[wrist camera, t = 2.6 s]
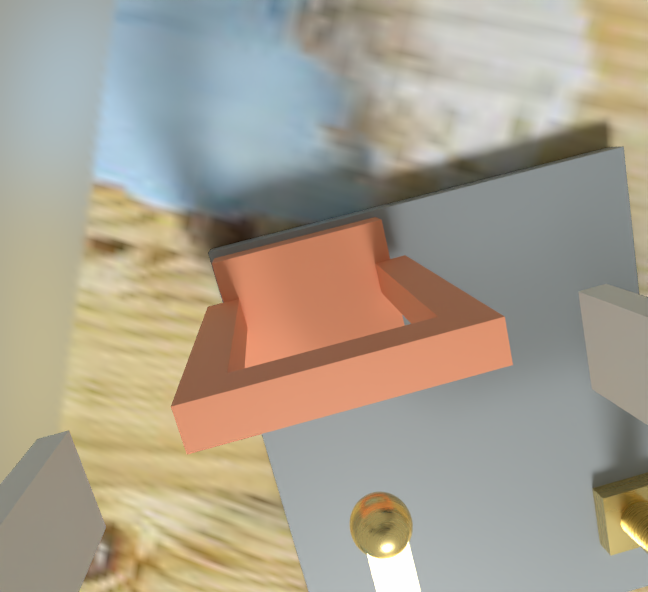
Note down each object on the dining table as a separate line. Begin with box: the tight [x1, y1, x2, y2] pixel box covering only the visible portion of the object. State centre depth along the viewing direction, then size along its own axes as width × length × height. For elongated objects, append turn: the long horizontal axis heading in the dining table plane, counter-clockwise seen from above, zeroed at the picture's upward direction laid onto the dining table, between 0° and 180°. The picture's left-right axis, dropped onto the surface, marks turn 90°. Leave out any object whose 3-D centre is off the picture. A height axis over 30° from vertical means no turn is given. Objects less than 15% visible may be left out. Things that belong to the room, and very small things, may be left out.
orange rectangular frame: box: [171, 217, 513, 454], centre depth 21 cm, size 5×9×12 cm, turn 104°
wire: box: [349, 472, 648, 592], centre depth 23 cm, size 15×17×14 cm
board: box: [208, 147, 648, 592], centre depth 30 cm, size 25×20×1 cm
